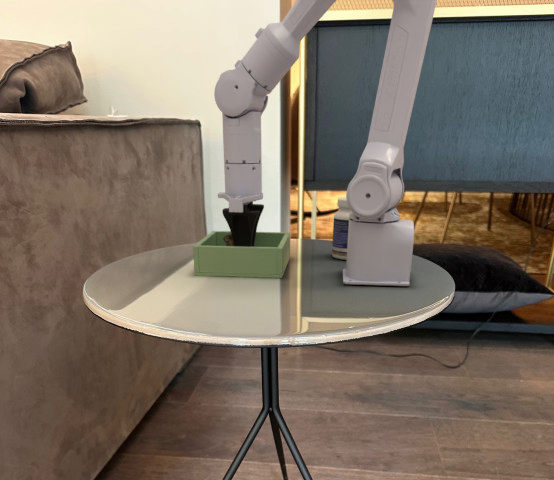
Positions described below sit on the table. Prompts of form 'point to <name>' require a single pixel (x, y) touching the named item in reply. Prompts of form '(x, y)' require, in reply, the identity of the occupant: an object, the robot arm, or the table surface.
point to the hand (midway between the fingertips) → (244, 252)
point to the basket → (242, 256)
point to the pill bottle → (341, 230)
